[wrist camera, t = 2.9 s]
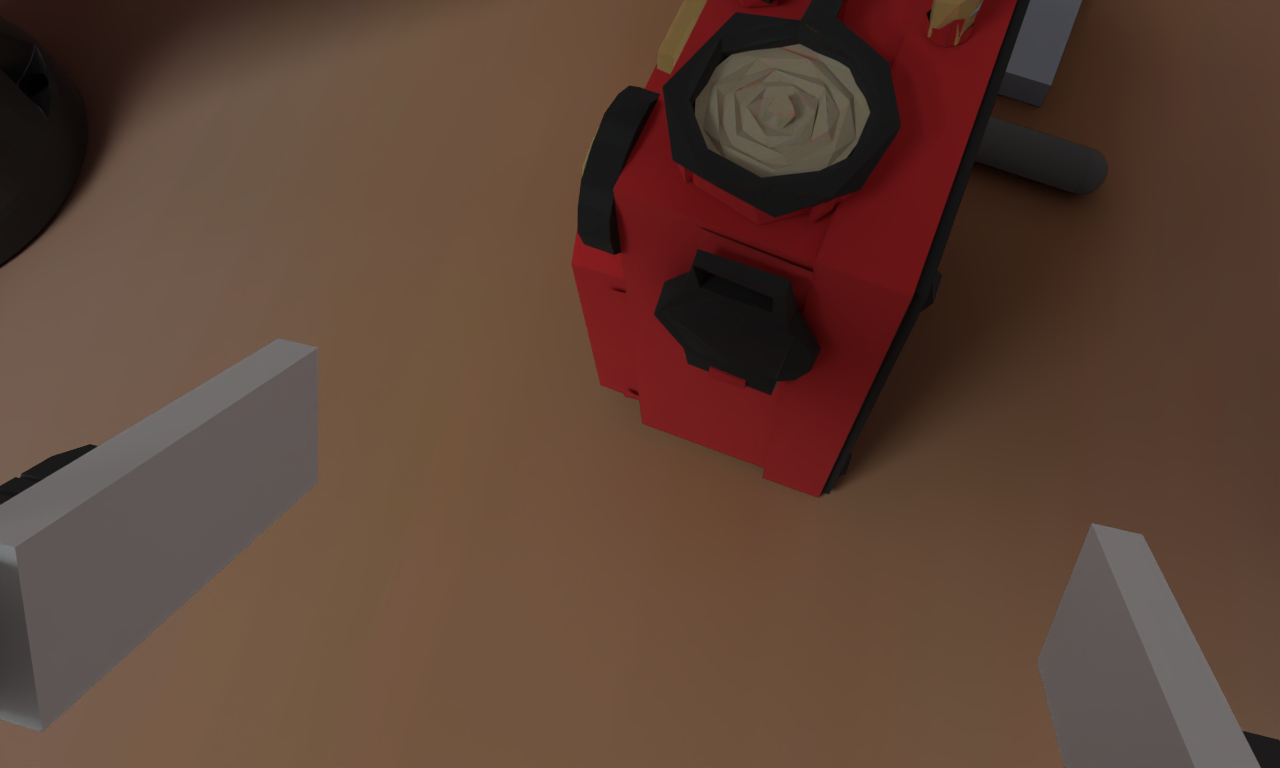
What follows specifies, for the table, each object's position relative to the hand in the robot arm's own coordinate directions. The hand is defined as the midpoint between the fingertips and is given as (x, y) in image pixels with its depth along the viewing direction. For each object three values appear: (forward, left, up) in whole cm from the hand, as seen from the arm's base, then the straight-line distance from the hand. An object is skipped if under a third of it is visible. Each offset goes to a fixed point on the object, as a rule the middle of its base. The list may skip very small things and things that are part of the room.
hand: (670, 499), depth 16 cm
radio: (-2, +14, -22) cm, 26 cm away
